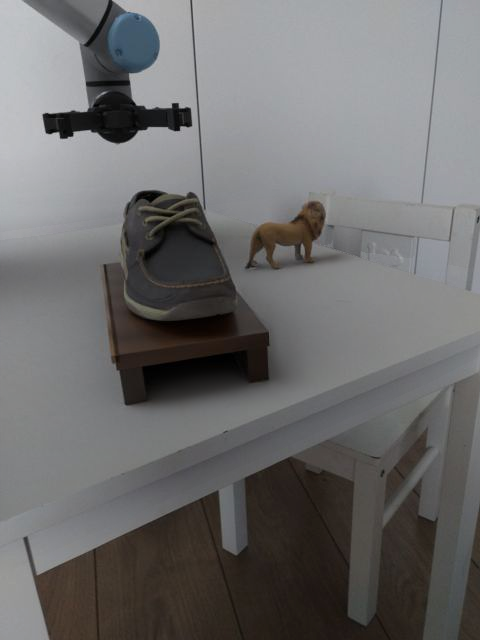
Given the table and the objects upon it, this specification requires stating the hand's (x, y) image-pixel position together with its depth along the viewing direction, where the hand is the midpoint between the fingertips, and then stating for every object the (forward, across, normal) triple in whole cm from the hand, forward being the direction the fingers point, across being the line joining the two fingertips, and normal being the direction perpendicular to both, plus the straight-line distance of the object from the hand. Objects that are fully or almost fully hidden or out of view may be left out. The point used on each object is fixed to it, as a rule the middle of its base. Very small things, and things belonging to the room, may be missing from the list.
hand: (123, 122), depth 73 cm
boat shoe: (+18, -2, -17) cm, 25 cm away
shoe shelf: (+19, -2, -22) cm, 29 cm away
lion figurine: (-3, -23, -22) cm, 32 cm away
